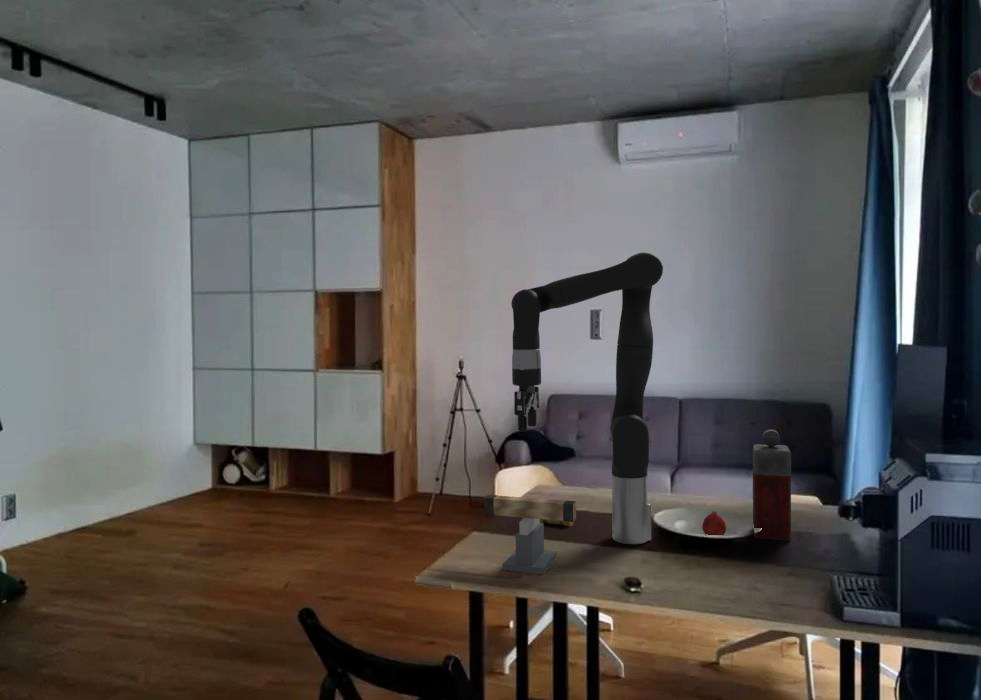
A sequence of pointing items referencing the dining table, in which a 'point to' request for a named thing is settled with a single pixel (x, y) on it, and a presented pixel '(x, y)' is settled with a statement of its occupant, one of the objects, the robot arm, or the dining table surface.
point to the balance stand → (530, 549)
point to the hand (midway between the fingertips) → (527, 428)
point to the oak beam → (530, 508)
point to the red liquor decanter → (772, 488)
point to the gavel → (556, 522)
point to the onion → (714, 524)
